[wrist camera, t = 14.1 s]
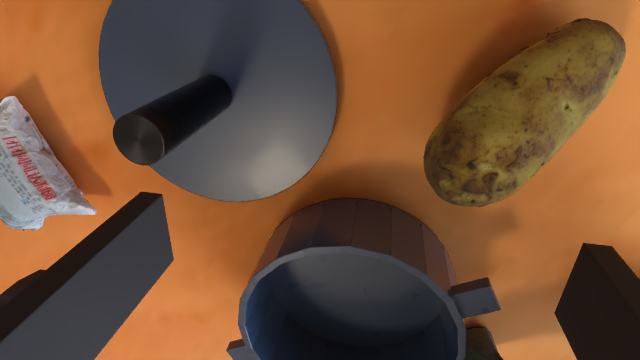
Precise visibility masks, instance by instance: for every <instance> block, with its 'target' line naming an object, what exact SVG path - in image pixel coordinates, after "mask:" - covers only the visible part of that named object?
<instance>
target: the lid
mask: <svg viewBox="0 0 640 360" xmlns="http://www.w3.org/2000/svg"><path fill="white" fill-rule="evenodd" d="M99 69H100V76H101V83H102V87H103V91H104V94H105V98H106V101H107V103H108V106H109V109H110V111H111V114H112V116H113V118H114V120H115V124H114V127H113V138H114V141H115V144H116V146H117V148H118V149H119V151H120V152H121V153H122V154H123V155H124V156H125V157H126V158H127V159H129V160H130V161H132V162H134V163H136V164H139V165H149V166H150V167H151V168H153V169H154V170H155V171H156V172H157V173H159V174H160V175H161V176H163V177H164V178H166V179H167V180H169V181H170V182H172V183H174V184H175V185H177V186H179V187H181V188H182V189H185V190H187V191H189V192H192V193H194V194H197V195H200V196H203V197H206V198H210V199H215V200H220V201H231V202H244V201H253V200H259V199H264V198H267V197H270V196H273V195H276V194H278V193H280V192H282V191H284V190H286V189H288V188H289V187H291V186H292V185H294V184H295V183H297V182H298V181H299V180H301V179H302V178H303V177H304V176H305V175H306V174H307V173H308V172H309V171H310V170H311V169H312V167H313V166H314V165H315V164H316V163H317V161H318V160H319V158H320V156H321V155H322V153H323V152H324V150H325V148H326V145H327V143H328V141H329V138H330V136H331V133H332V130H333V126H334V122H335V118H336V110H337V81H336V73H335V68H334V64H333V60H332V56H331V52H330V50H329V47H328V45H327V42H326V40H325V37H324V35H323V33H322V31H321V30H320V28H319V26H318V24H317V22H316V21H315V19H314V17H313V16H312V15H311V13H310V12H309V11H308V9H307V8H306V6H305V5H304V4H303V3H302V1H301V0H113V1H112V3H111V5H110V7H109V9H108V12H107V14H106V17H105V19H104V23H103V27H102V31H101V36H100V45H99Z"/></svg>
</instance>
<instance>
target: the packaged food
mask: <svg viewBox="0 0 640 360" xmlns="http://www.w3.org/2000/svg"><path fill="white" fill-rule="evenodd" d="M0 107H1V108H0V219H1V220H2V221H3V222H4V223H5V225H7V226H8V227H9V228H14V229H22V230H25V229H30V228H31V230H37V229H39V228H41V227H42V226H43V221H44V219H45V217H48V216H51V215H54V214H56V215H58V214H80V215H94V214H97V211H96V210H95V208H94V207H92V206H91V205H90V203H89V202H88V200H86V199H85V198H84V197H83V196H84V195H83V192H82V190H81V188H80V187H79V186H78V184H77V183H76V182H75V181H74V179H73V178H72V177H71V176H70V174H69V173H68V172H67V171H66V169H65V168H64V167H63V165H62V164H61V163H60V162H59V161H58V160H57V159H56V157H55V156H54V153H53V149H52V147H51V146H50V145H49V143H48V142H47V141H46V140H45V138H44V137H43V136H42V134H41V133H40V132H39V130H38V128H37V126H36V125H35V123H34V121H33V120H32V118H31V116H30V114H29V113H28V112H27V111H26V110H25V109H23V106H22V104H20V103H19V101H18V99H17V98H16V97H15V96H9V97H6V98H4V99H3V100H2V101H1V103H0Z"/></svg>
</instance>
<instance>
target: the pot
mask: <svg viewBox="0 0 640 360" xmlns="http://www.w3.org/2000/svg"><path fill="white" fill-rule="evenodd" d="M499 310H501V309H500V305H499V302H498V299H497V297H496V295H495V292H494V290H493V288H492V285H491V283H490V280H489V278H488V277H486V278H482V279H478V280H474V281H470V282H466V283H462V284H458V285H457V281H456V276H455V271H454V268H453V266H452V263H451V261H450V258H449V255H448V253H447V252H446V250H445V248H444V246H443V244H442V243H441V242H440V241H439V239H438V238H437V237H436V235H435V234H434V233H433V232H432V231H431V230H430V229H429V228H428V227H427V226H426V225H424V224H423V223H422V222H420V221H419V220H418V219H416V218H415V217H413V216H411V215H410V214H408V213H406V212H404V211H402V210H400V209H398V208H395V207H393V206H391V205H387V204H384V203H381V202H377V201H372V200H366V199H355V198H344V199H333V200H327V201H322V202H319V203H315V204H312V205H310V206H307V207H305V208H303V209H301V210H299V211H297V212H296V213H294V214H293V215H291V216H290V217H289V218H287V219H286V220H285V221H284V222H283V223H282V224H281V225H280V226H279V227H278V228H276V230H275V231H274V233H273V235H272V237H271V239H270V240H269V242H268V244H267V246H266V248H265V250H264V252H263V254H262V256H261V258H260V260H259V262H258V264H257V266H256V268H255V270H254V272H253V274H252V276H251V278H250V280H249V282H248V284H247V286H246V288H245V290H244V292H243V294H242V296H241V298H240V304H239V318H238V326H239V329H240V332H241V335H242V338H243V339H240V340H236V341H232V342H230V343H229V345H228V348H227V350H226V351H227V352H228V353H229V355H230V356H231V357H232V358H233V360H464V359H465V357H466V326H465V321H464V318H467V317H472V316H476V315H481V314H486V313H490V312H495V311H499Z"/></svg>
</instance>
